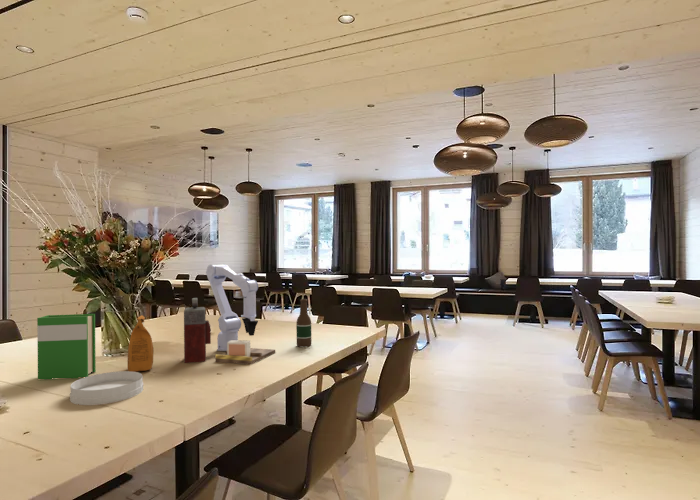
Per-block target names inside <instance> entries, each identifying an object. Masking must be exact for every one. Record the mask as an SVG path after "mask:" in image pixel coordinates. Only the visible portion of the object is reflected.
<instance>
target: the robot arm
mask: <svg viewBox="0 0 700 500" xmlns="http://www.w3.org/2000/svg"><path fill="white" fill-rule="evenodd" d="M205 274H206V276H207V280H208V283H209V284H210V288H211V291H212V294H213V296H214V298H215V302H216V305H217V307H218V310H219V313H220V316H219V318H218V320H217V321H218V328H219V330H220V332H219V333H218V334H217V342H216V343H217V349H216V352H217V351H219V352H220V351H221V352H226V351H227V342H229V341H231V340H239V332H240V329H241V327H242V322H243V325H244V328H245V329H244V330H245V333H246V334H247V333H248V336H249V337H250V336H251V337H253V336H254V335H255V332H256V327H257V324H258V320H256V317H257V302H256V300H257V298H256V297H257V295H256V294H257V291H258V289H259V283H258V282H257V280H256V279H250V277H247V276H245V275H244V273H236V272H235V271H234V270H232V268H230V266H229V265H227V264H225V263H223V264H209V265H208V266H207V268H206V271H205ZM226 278H228V279H230V280H232V282H233V284H234V285H235V286H236V287H239V288H240V292H242V297H243V314H241V315H240V317H241V319H240V318H239V316H238V314H237V313H235V311H232V308H231V305H230V303H229V300H228V297H227V295H226V292H225V289H224V287H223V283H224V282H225V281H226Z"/></svg>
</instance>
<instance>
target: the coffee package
mask: <svg viewBox="0 0 700 500" xmlns="http://www.w3.org/2000/svg"><path fill="white" fill-rule="evenodd" d="M145 318H146V317H145V316H144V315H140V316H138V317H136V319H137V322H136V325H135V327H134V328H133V329H132V331H131V334H130V339H129V342H128V347H127V349H128V350H127V371H131V372H138V373H140V372H144V371H146V372H147V371H149V370H152V368H153V365H154V354H155V353H154V345H153V343H154V342H153V338H152V336H151V334H150V332H149V331H148V329H147V328H146V327H145V326H144V323H145Z"/></svg>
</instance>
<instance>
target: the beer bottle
mask: <svg viewBox="0 0 700 500" xmlns="http://www.w3.org/2000/svg"><path fill="white" fill-rule="evenodd" d="M299 302H300V308H299V309H300V310H299V316H298V317H297V320H296V326H295V327H296V329H295V330H296V347H299V348H307V347H311V346H312V319H311V317H310V315H309V312H308V299H307V298H301V299H300V300H299Z"/></svg>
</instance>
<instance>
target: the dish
mask: <svg viewBox="0 0 700 500" xmlns="http://www.w3.org/2000/svg"><path fill="white" fill-rule="evenodd" d="M143 378H144V377H143V374H142V373H141V372H131V371H128V370H127V371H123V370H121V371H120V370H119V371H111V372H110V371H109V372H103V373H98V374H97V373H95V374H93V375H88V377H85V378H78V379H77V380H75V381H73V382H72V383H71V384H70V392H69V401H70V403H71V404H74V405H78V404H79V406H98V405H105V404H112V403H116V402H117V403H118V402H121V401H122V402H123V401H126V400H128V399H131V398H133V397H135V396H137V395H139V394H141V393H142V392H143V390H144V381H143Z"/></svg>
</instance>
